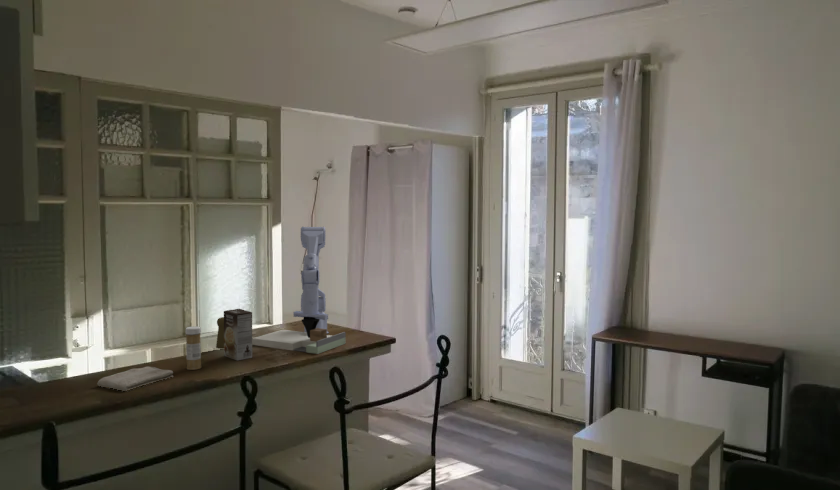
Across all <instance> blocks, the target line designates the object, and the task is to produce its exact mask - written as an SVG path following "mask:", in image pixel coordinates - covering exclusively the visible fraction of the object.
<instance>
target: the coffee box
mask: <svg viewBox="0 0 840 490" xmlns="http://www.w3.org/2000/svg"><path fill="white" fill-rule="evenodd" d="M223 317H224V349H223V354H224V357H227V358H229V359H231V360H235V361H242V360H247V359H251V358H253V345H252V338H253V312H252V311H249V310H245V309H242V308H233V309H228V310H223Z"/></svg>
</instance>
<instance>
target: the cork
mask: <svg viewBox="0 0 840 490" xmlns="http://www.w3.org/2000/svg"><path fill="white" fill-rule="evenodd" d="M216 326H217V327H218V328H217V335H216V344H215V347H216V349H219V350H220V349H221V350H222V349H223V350H224V316H223V317H222V316H221V317H218V318H217V320H216Z"/></svg>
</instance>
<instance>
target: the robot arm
mask: <svg viewBox="0 0 840 490" xmlns="http://www.w3.org/2000/svg"><path fill="white" fill-rule="evenodd" d="M326 236H327V235H326V226H300V241H301V246H302V248H303V249H306V255H304V257H303V267H302V271H301V273H300V274H301V277H300V278H301V280H300V283H301V289H302V294H301V295H300V296H301V297H300V310H299V311H298V310H295V311H293V318H302V319H301V323H302V324H303V326H304V329H303V330H304V331H303V332H307V336H308V338H310V330H312V329H316V328H321V329H327V330H328V320H329V314H327V313H325V312H326V309H327V308H326V307H327V305H326V304H327V303H326V301H327V300H326V299H327V298H326V293H325V291H323V290H321V289H320V288H319V286H320V285H319V284H320V280H321V279H320V277H321V275H320V267H319V266H320V252H321V250H322V249H324V248H325V245H326V238H327V237H326ZM329 333H330V332H329V331H327V334H329Z"/></svg>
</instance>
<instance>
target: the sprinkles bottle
mask: <svg viewBox="0 0 840 490" xmlns="http://www.w3.org/2000/svg"><path fill="white" fill-rule="evenodd" d="M201 333H202V328H201V327H200V326H198V325H197V326H194V325H193V326H187V327H186V328H185V338H186V339H185V340H186V344H185V347H186V349H185V350H186V353H185V354H186V370H188V371H196V370H200V369H201V368H202V346H201Z"/></svg>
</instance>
